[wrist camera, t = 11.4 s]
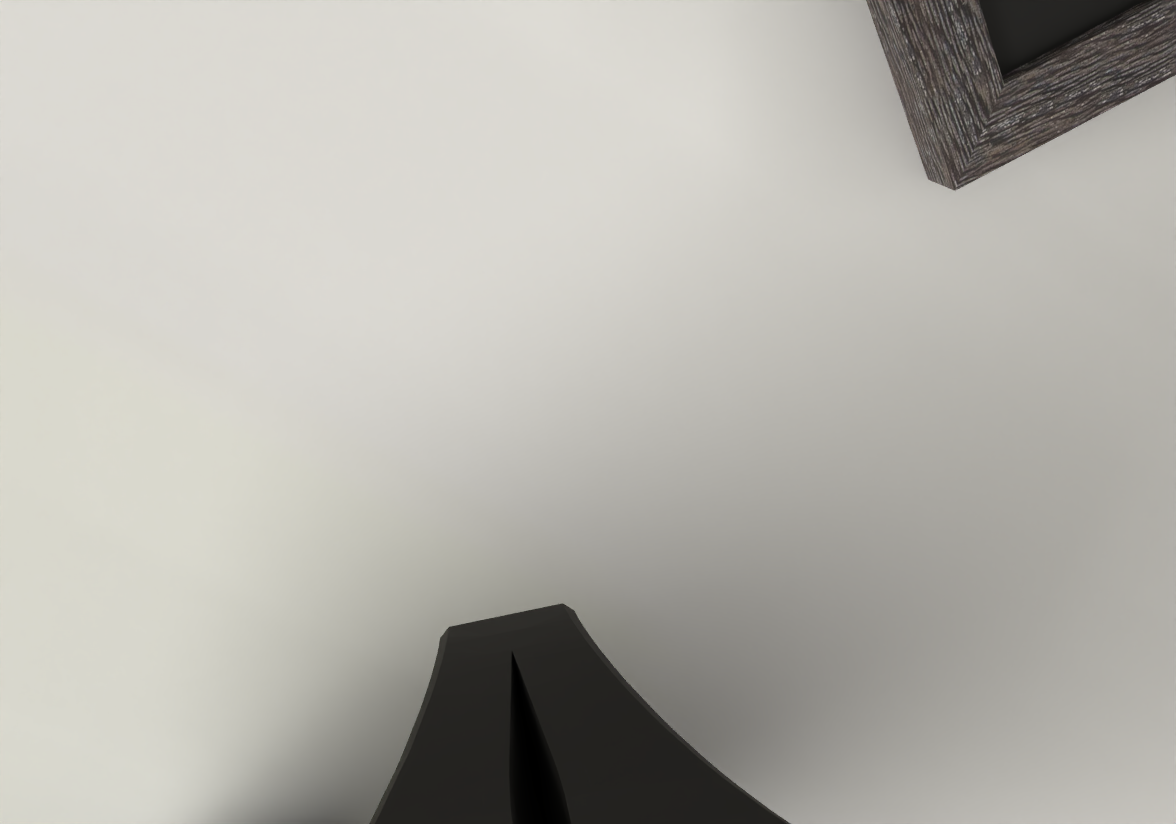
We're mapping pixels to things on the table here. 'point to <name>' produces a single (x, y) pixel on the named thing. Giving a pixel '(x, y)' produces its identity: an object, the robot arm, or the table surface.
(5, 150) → the table surface
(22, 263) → the table surface
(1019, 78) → the picture frame
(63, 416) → the table surface
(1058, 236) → the table surface
